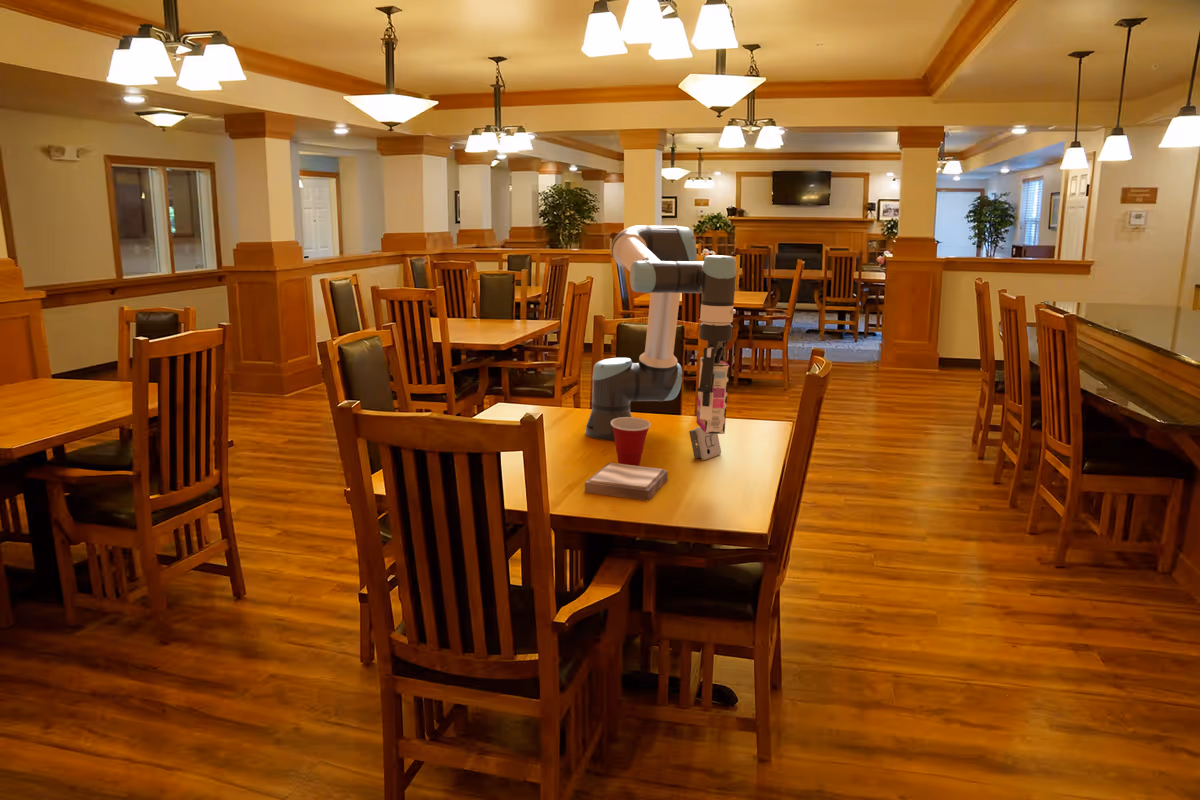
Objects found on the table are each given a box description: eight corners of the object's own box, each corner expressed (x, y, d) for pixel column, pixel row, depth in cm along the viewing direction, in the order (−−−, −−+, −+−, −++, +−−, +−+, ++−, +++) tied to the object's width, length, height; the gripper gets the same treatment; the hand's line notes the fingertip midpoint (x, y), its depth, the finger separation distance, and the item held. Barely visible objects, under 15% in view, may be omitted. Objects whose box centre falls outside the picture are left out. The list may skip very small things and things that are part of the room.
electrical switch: (704, 461, 235) (703, 428, 234) (688, 459, 239) (687, 426, 237) (721, 454, 242) (720, 422, 241) (706, 453, 246) (705, 421, 244)
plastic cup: (612, 471, 224) (614, 426, 221) (606, 459, 234) (607, 417, 232) (653, 470, 226) (654, 426, 223) (644, 458, 236) (646, 416, 234)
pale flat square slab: (608, 472, 223) (608, 461, 222) (667, 479, 218) (668, 468, 217) (584, 492, 206) (585, 480, 205) (648, 500, 201) (648, 488, 200)
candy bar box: (726, 434, 198) (730, 365, 194) (705, 434, 198) (708, 364, 194) (715, 422, 209) (719, 356, 205) (695, 422, 208) (699, 356, 205)
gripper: (722, 330, 185) (716, 426, 190) (741, 318, 208) (735, 404, 212) (688, 328, 188) (684, 423, 192) (711, 316, 210) (706, 401, 215)
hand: (711, 413), depth 202 cm, fingers closed on candy bar box, 12 cm apart
